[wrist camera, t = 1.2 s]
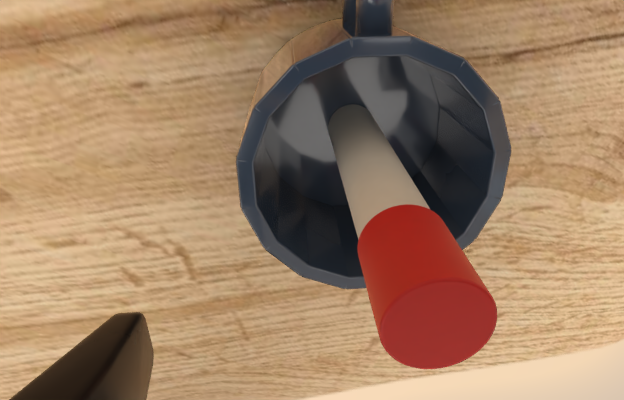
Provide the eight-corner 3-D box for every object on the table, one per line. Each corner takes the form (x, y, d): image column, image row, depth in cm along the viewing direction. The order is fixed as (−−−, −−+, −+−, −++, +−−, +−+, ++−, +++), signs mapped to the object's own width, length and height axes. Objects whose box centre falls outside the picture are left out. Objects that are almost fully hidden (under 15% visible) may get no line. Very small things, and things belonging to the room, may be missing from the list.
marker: (375, 150, 18) (488, 367, 8) (325, 152, 18) (376, 373, 8) (378, 100, 17) (508, 276, 7) (325, 102, 17) (383, 282, 7)
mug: (435, 206, 20) (485, 283, 15) (258, 213, 19) (249, 294, 14) (470, -80, 15) (563, -107, 10) (234, -76, 14) (208, -103, 10)
